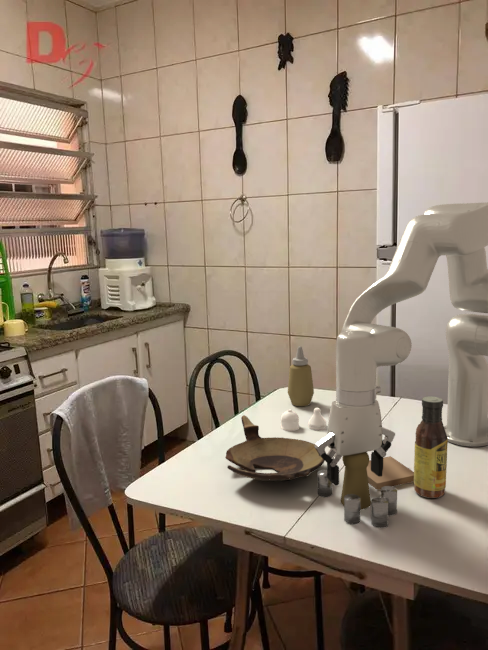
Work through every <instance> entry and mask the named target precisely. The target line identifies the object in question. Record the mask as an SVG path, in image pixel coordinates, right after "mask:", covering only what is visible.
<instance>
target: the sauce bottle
mask: <svg viewBox="0 0 488 650" xmlns="http://www.w3.org/2000/svg"><path fill="white" fill-rule="evenodd" d="M421 406H422V409H421V411H422V415H421V421H420V422H419V424H418V425H417V427H416V429H415V441H414V458H413V472H414V482H413V484H414V485H413V488H414V491H415V493H416V494H417V495H418V496H421V497H423V498H427V499H437V498H441V497H443V496H444V495H445V493H446V487H447V469H448V468H447V466H448V465H447V463H448V461H447V460H448V444H449V443H448V438H447V435H446V432H445V429H444V426H445V425H444V424H443V407H444V400H443V398H441V397H438V396H424V397H422V399H421Z"/></svg>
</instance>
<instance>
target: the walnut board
mask: <svg viewBox="0 0 488 650" xmlns="http://www.w3.org/2000/svg"><path fill="white" fill-rule="evenodd" d="M367 475H368V482H369V486H371V487H372V488H373V489H375V490H376V491H381V488H382V487H384V486H392V487H396V486H397V487H398V486H401V485H406V484H410V483H414V470H411V469H410V468H408V467H407V466H406V465H404V464H403V463H401V462H400V461H398V460H397V459H395V458H394V457H393V456H391V455H390V456H385V457H383V470H382V476H381V477H379V476H377V475H376V474H375V473H373V472H372V471H371V459H369V464H368V466H367Z"/></svg>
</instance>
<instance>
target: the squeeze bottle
mask: <svg viewBox="0 0 488 650" xmlns="http://www.w3.org/2000/svg"><path fill="white" fill-rule="evenodd" d="M295 355H296V356H294V357H293V358H292V360H291V361H292V364H291V365H290V366H289V368H288V369H289V371H288V382H287V394H288V398H289V400H290V403H291V404H292V405H293V406H296V407H306V406H307V407H308V406H309V405H310V404H311V403H312V400H313V396H314V394H315V390H314V383H313V382H314V380H313V373H312V367H311V365H310V364H309V359H308V357H306V356H305V355H304V351H303V346H297V350H296V354H295Z"/></svg>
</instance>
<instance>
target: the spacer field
mask: <svg viewBox="0 0 488 650" xmlns="http://www.w3.org/2000/svg"><path fill="white" fill-rule="evenodd" d="M317 495H318V496H320V497H323V498H328V497H332V495H333V483H332V482H331V481H330V480H329V479H328V478H327V469H321V470H318V471H317ZM370 507H371V510H370V511H371V512H370V513H371V515H370V516H371V518H370V519H371V520H370V522H371V526H373V527H374V528H377V529H383V528H387V527H388V525H389V516H395V515H397V514H398V488H397V487H396V486H393V487H392V486H384V487H382V488H381V489H380V496H379V497H377V496H376V497H373V498H371V506H370ZM360 509H361V498H360V497H359V496H358V495H355V494H348V495H345V496H344V506H343V515H344V517H343V519H344V522H345V523H346V524H349V525H358V524H360V523H361V510H360Z"/></svg>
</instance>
